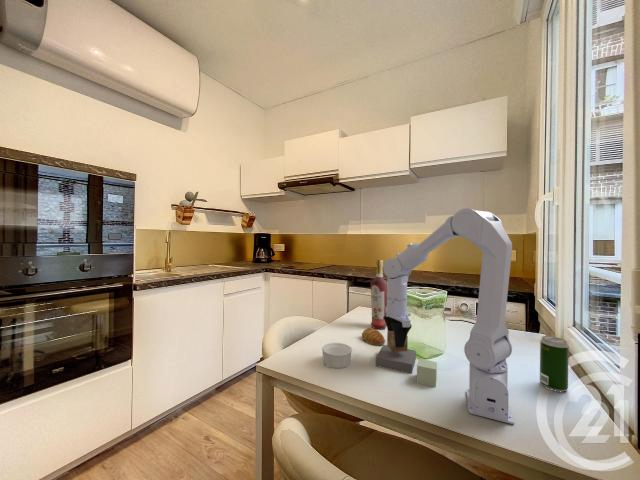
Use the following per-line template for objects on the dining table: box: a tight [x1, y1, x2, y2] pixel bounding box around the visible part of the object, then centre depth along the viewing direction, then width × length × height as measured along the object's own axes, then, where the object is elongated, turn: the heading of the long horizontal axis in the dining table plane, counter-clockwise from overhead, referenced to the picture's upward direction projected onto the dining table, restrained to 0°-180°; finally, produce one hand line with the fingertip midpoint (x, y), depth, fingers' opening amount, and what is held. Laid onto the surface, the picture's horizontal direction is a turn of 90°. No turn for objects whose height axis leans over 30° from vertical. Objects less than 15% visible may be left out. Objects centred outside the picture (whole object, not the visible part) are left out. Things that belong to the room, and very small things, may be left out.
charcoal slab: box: [375, 344, 417, 374], centre depth 80 cm, size 10×10×3 cm
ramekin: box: [321, 342, 353, 369], centre depth 80 cm, size 9×9×4 cm
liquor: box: [370, 259, 387, 330], centre depth 112 cm, size 7×7×28 cm
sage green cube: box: [416, 358, 438, 388], centre depth 70 cm, size 4×4×4 cm
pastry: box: [361, 327, 386, 347], centre depth 97 cm, size 9×7×4 cm
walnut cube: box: [386, 330, 409, 352], centre depth 80 cm, size 4×4×4 cm
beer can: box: [539, 335, 570, 393], centre depth 68 cm, size 5×5×12 cm
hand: (396, 343), depth 80 cm, fingers closed on walnut cube, 4 cm apart
